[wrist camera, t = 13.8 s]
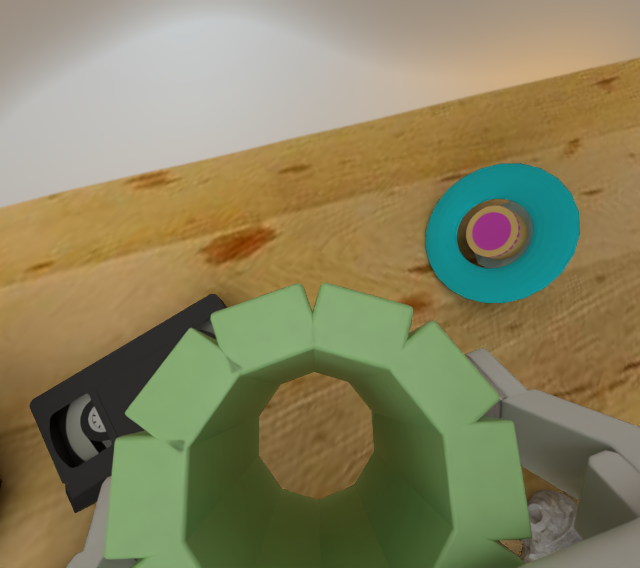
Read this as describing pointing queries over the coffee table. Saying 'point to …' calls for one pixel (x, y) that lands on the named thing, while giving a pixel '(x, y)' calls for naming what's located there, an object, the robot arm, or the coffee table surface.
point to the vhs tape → (108, 402)
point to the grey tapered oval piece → (550, 524)
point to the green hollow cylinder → (341, 507)
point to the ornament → (504, 233)
